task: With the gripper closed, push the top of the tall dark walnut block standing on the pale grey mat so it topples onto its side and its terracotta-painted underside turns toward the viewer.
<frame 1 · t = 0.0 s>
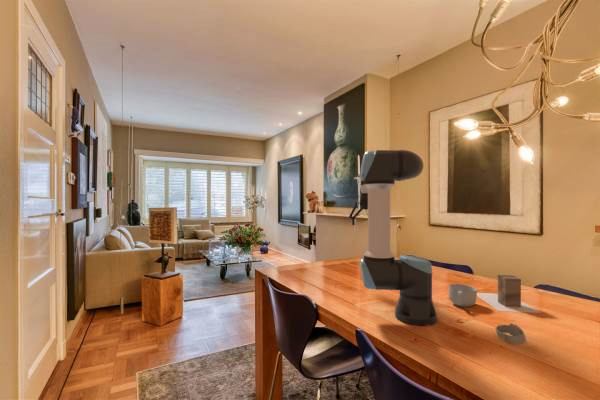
hand: (367, 231, 167), 28 cm above the table, tool pointing down, fingers open, 13 cm apart
mat: (503, 302, 133), on the table
walnut block: (509, 304, 129), resting on mat
teacup: (461, 306, 130), on the table
wristwatch: (510, 340, 98), on the table
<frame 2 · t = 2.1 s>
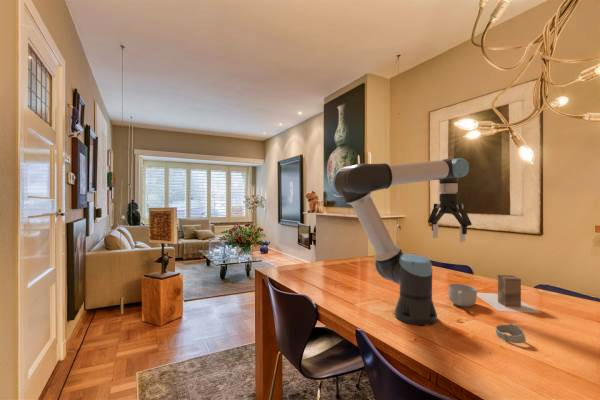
hand: (448, 239, 137), 27 cm above the table, tool pointing down, fingers open, 13 cm apart
nothing on the table moved.
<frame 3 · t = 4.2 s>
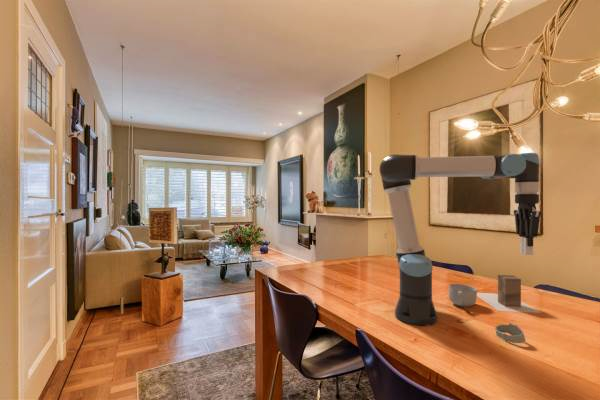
hand: (526, 254, 117), 24 cm above the table, tool pointing down, fingers closed
nothing on the table moved.
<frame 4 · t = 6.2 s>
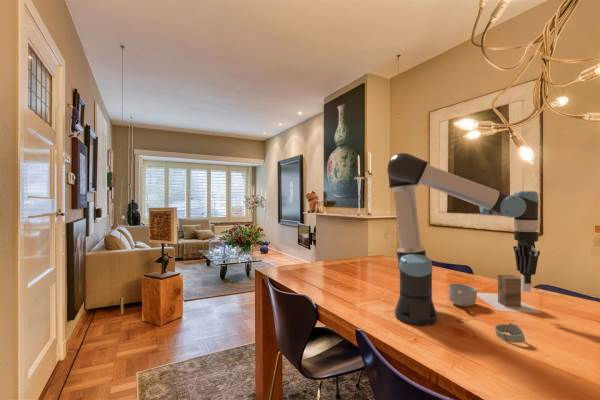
hand: (525, 291, 118), 10 cm above the table, tool pointing down, fingers closed
nothing on the table moved.
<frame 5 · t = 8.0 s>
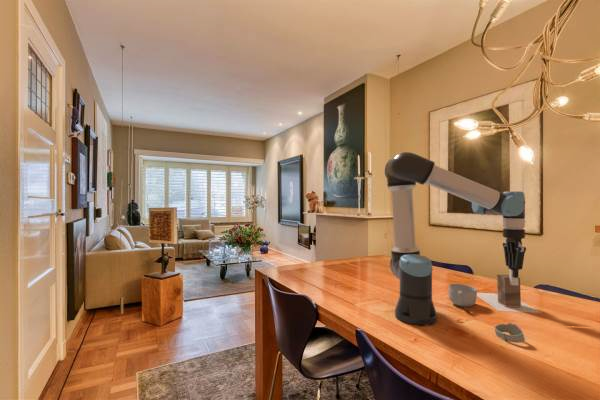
hand: (513, 284, 126), 10 cm above the table, tool pointing down, fingers closed
walnut block: (509, 304, 129), point 1 cm above the table, touching gripper, mat
everything else where it was.
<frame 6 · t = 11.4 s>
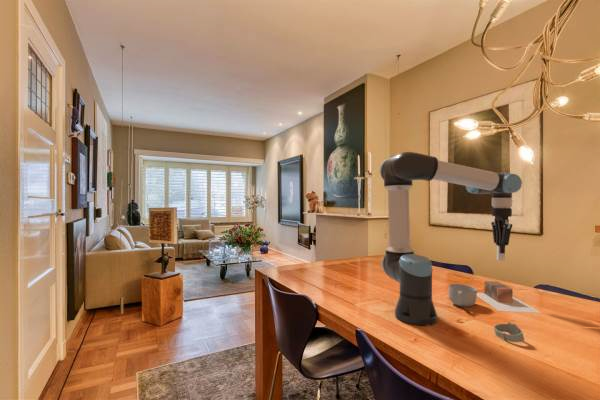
hand: (500, 260, 135), 18 cm above the table, tool pointing down, fingers closed
walnut block: (505, 295, 132), point 3 cm above the table, tilted 90°, touching mat
everything else where it was.
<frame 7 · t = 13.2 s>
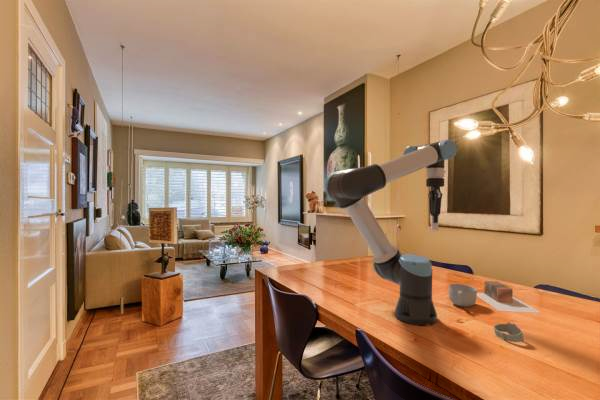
hand: (434, 230, 136), 32 cm above the table, tool pointing down, fingers closed
nothing on the table moved.
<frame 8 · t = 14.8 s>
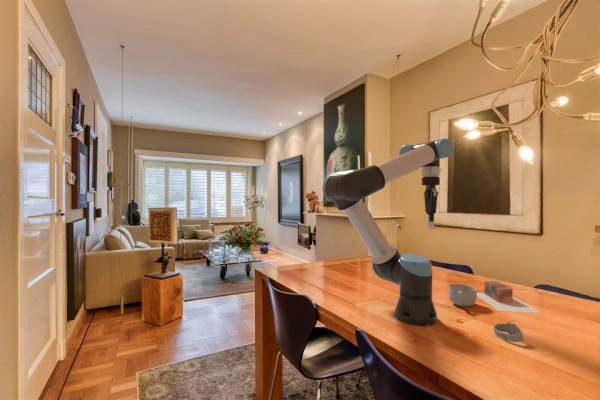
hand: (430, 228, 137), 32 cm above the table, tool pointing down, fingers closed
at the end: walnut block tilted 90°; walnut block inside the target area (2.5 cm from its centre), point 3.5 cm above the table; the gripper is holding nothing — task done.
